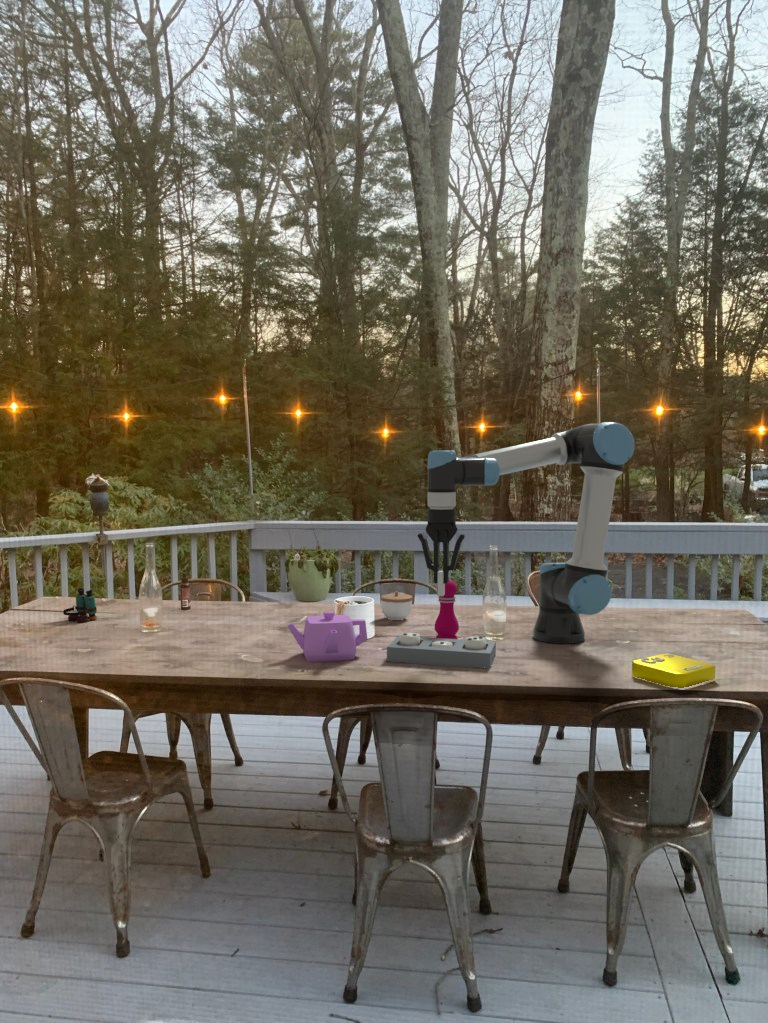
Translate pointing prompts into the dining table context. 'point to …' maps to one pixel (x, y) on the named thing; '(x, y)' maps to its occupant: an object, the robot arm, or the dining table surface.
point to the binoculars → (82, 607)
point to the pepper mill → (447, 613)
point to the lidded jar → (396, 605)
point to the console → (441, 653)
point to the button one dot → (442, 644)
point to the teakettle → (329, 637)
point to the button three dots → (475, 643)
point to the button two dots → (410, 639)
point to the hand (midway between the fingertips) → (441, 595)
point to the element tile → (673, 670)
